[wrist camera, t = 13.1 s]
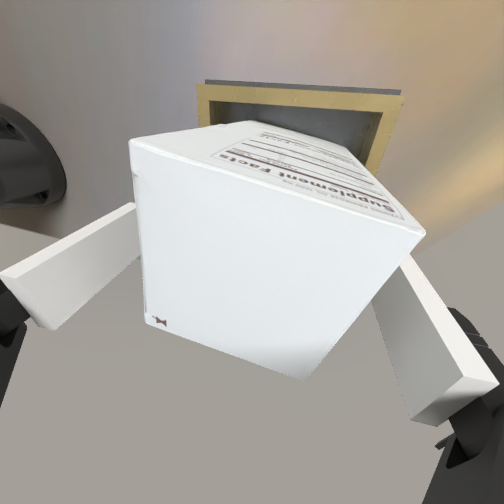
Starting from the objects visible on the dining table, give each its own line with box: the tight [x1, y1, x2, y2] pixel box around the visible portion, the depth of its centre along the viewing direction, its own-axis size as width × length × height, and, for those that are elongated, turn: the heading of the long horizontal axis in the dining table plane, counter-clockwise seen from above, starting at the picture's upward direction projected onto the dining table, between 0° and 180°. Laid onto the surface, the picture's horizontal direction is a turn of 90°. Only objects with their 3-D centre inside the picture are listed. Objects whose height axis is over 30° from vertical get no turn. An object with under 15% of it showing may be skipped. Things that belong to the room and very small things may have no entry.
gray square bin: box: [196, 79, 405, 177], centre depth 24 cm, size 16×16×9 cm
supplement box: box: [128, 120, 426, 380], centre depth 15 cm, size 10×9×17 cm
